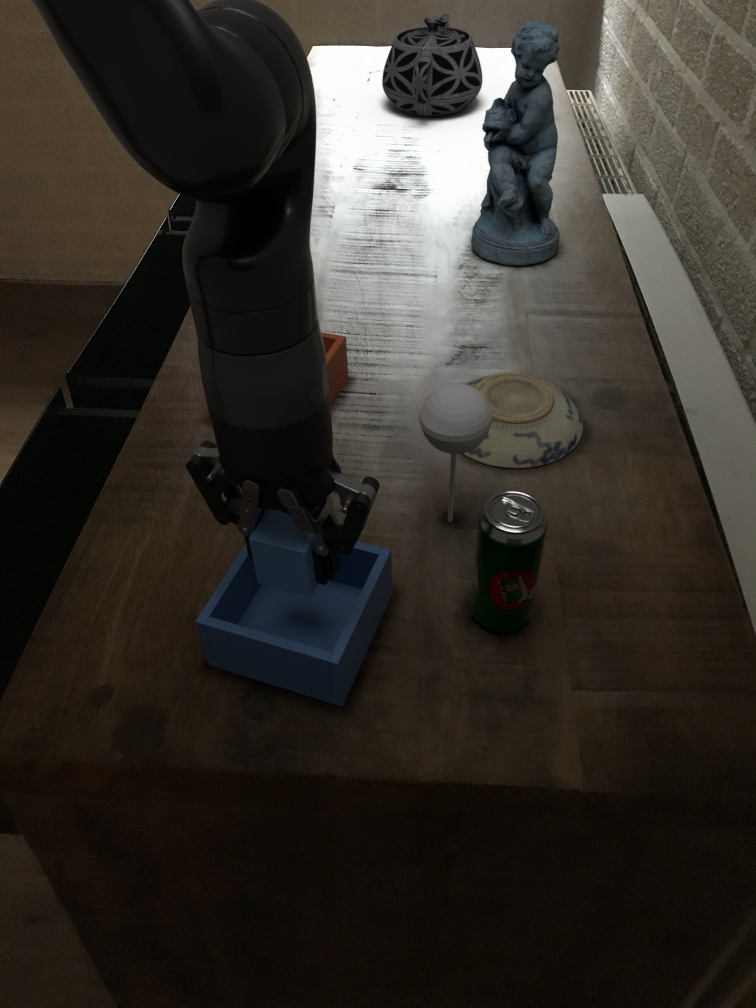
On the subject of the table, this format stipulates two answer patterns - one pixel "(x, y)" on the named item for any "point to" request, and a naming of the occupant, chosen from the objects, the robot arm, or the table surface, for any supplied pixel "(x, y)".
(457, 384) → the lollipop
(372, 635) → the blue bin
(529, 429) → the decorative bowl
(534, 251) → the statue
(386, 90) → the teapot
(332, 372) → the terracotta bin
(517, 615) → the soda can
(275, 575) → the blue block
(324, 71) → the table surface
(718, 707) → the table surface
